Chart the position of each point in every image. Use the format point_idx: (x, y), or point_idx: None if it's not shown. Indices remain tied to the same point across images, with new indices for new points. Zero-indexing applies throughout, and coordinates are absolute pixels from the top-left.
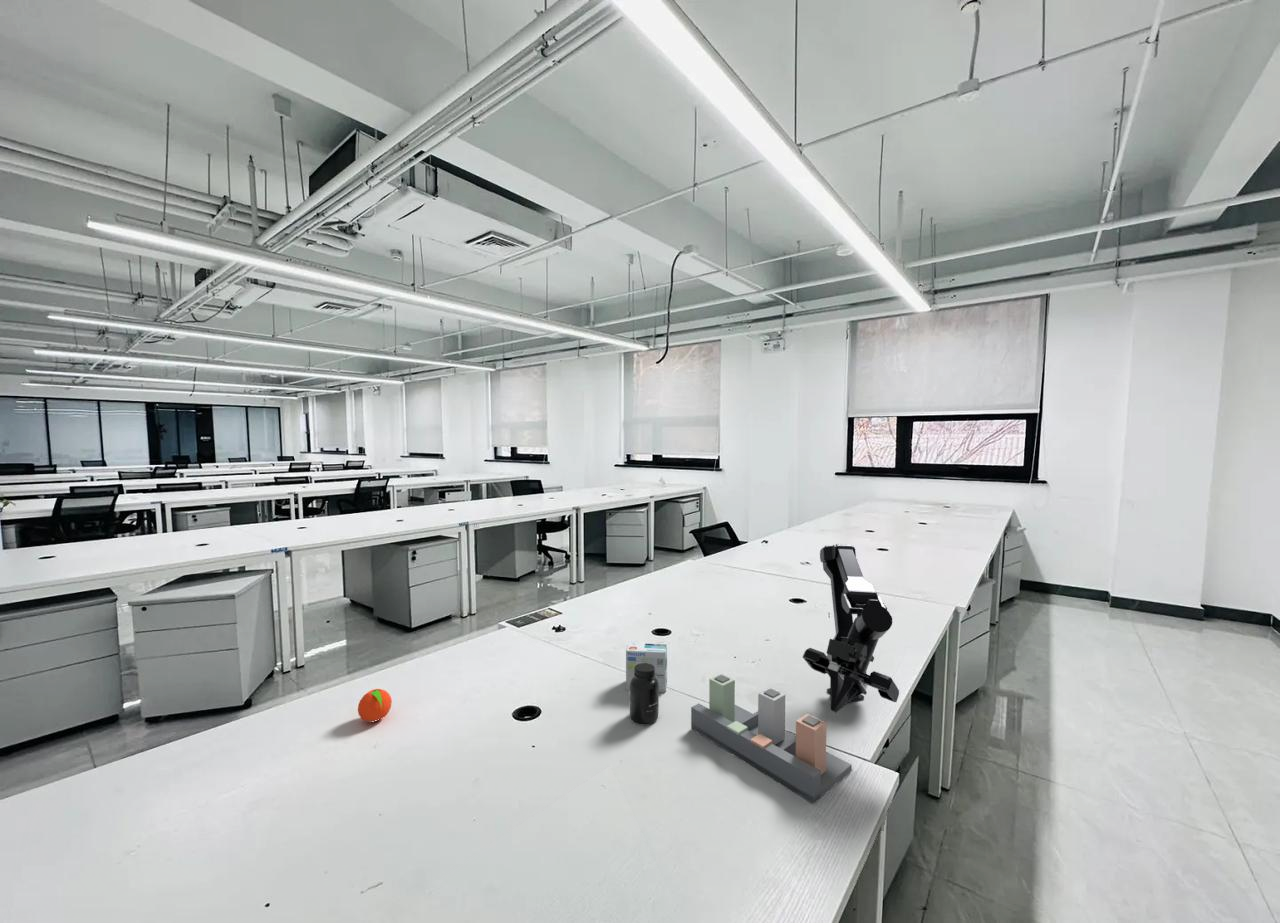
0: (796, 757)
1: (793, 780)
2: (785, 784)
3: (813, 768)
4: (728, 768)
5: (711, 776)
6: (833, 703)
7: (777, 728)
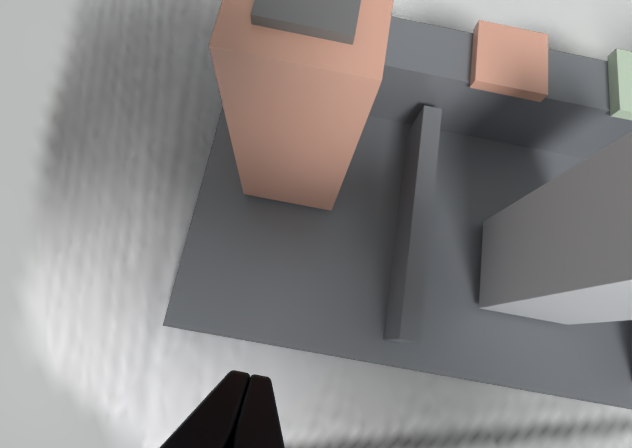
0: None
1: None
2: None
3: None
4: None
5: (539, 3)
6: (246, 415)
7: (521, 226)
